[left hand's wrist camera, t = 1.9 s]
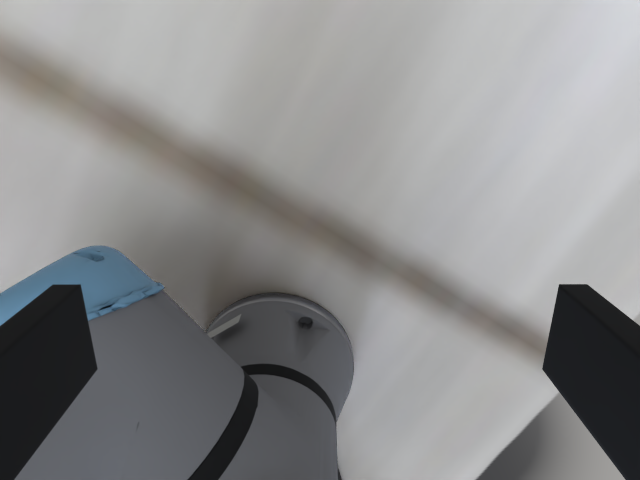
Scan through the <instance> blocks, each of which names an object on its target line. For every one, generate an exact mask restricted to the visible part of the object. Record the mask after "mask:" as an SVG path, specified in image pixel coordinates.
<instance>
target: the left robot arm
mask: <svg viewBox="0 0 640 480" xmlns="http://www.w3.org/2000/svg"><path fill="white" fill-rule="evenodd" d="M162 289H164V286H163V285H162V284H161V283H157V282H154V281H153V280H152V279H151V278H149V277H148V276H147V275H146V274H145V273H144V272H143V271H141V270H140V269H139V268H138V267H137V266H136V265H135V264H133V263H132V262H131V261H130V260H129V259H128V258H127V257H125V256H124V255H123V254H122V253H121V252H119V251H118V250H116V249H114V248H111V247H107V246H90V247H86V248H82V249H80V250H77V251H75V252H73V253H71V254H69V255H67V256H65V257H63V258H61V259H59V260H57V261H56V262H54V263H52V264H50V265H48V266H46V267H45V268H43V269H41V270H39V271H38V272H36V273H34V274H32V275H31V276H29V277H27V278H25V279H24V280H22V281H20V282H19V283H17V284H15V285H14V286H12V287H10V288H9V289H7V290H5V291H4V292H2V293H0V480H341V477H340V473H339V470H338V466H337V434H336V422H337V419H338V417H339V415H340V412H341V410H342V408H343V405H344V403H345V400H346V398H347V396H348V394H349V391H350V388H351V384H352V379H353V372H354V364H353V353H352V347H351V344H350V341H349V338H348V336H347V334H346V332H345V330H344V329H343V327H342V326H341V324H340V323H339V322H338V321H337V320H336V318H335V317H333V316H332V315H331V314H330V313H329V312H328V311H326V310H325V309H324V308H322V307H321V306H319V305H317V304H315V303H314V302H312V301H309V300H307V299H304V298H301V297H298V296H294V295H289V294H281V293H268V294H259V295H255V296H250V297H247V298H244V299H242V300H240V301H237V302H235V303H234V304H232V305H230V306H229V307H227V308H226V309H224V310H223V311H222V312H221V313H220V314H219V315H218V316H217V317H216V318H215V319H214V321H213V322H212V323H211V325H210V327H209V328H208V330H207V332H206V333H205V332H204V331H203V330H202V329H201V328H200V327H199V326H198V325H197V324H196V323H195V322H194V321H193V320H192V319H191V318H190V317H189V316H188V315H187V314H186V313H185V312H184V311H183V310H182V309H181V308H180V307H179V306H178V305H177V304H176V303H175V302H174V301H173V300H172V299H171V298H170V297H169V296H168V295H167V294H166V293H165V292H164V291H163V290H162ZM542 369H543V371H544V372H545V373H546V375H547V376H548V377H549V379H550V380H551V381H552V383H553V384H554V385H555V387H556V388H557V389H558V391H559V392H560V393H561V395H562V396H563V397H564V398H565V400H566V401H567V402H568V404H569V405H570V406H571V408H572V409H573V410H574V412H575V413H576V414H577V416H578V417H579V418H580V420H581V421H582V422H583V424H584V425H585V426H586V428H587V429H588V430H589V431H590V433H591V434H592V436H593V437H594V438H595V440H596V441H597V442H598V444H599V445H600V446H601V448H602V449H603V450H604V452H605V453H606V454H607V456H608V457H609V458H610V459H611V461H612V462H613V463H614V465H615V466H616V467H617V469H618V470H619V471H620V473H621V474H622V475H623V477H624V478H625V479H626V480H640V326H639V325H638V324H637V323H635V322H634V321H633V320H632V319H630V318H629V317H628V316H627V315H625V314H624V313H623V312H621V311H620V310H619V309H618V308H616V307H615V306H614V305H613V304H611V303H610V302H609V301H607V300H606V299H605V298H604V297H602V296H601V295H600V294H599V293H597V292H596V291H595V290H593V289H592V288H591V287H590V286H588V285H587V284H559V288H558V293H557V298H556V303H555V308H554V313H553V318H552V323H551V328H550V333H549V338H548V343H547V348H546V353H545V358H544V363H543V368H542Z"/></svg>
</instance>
